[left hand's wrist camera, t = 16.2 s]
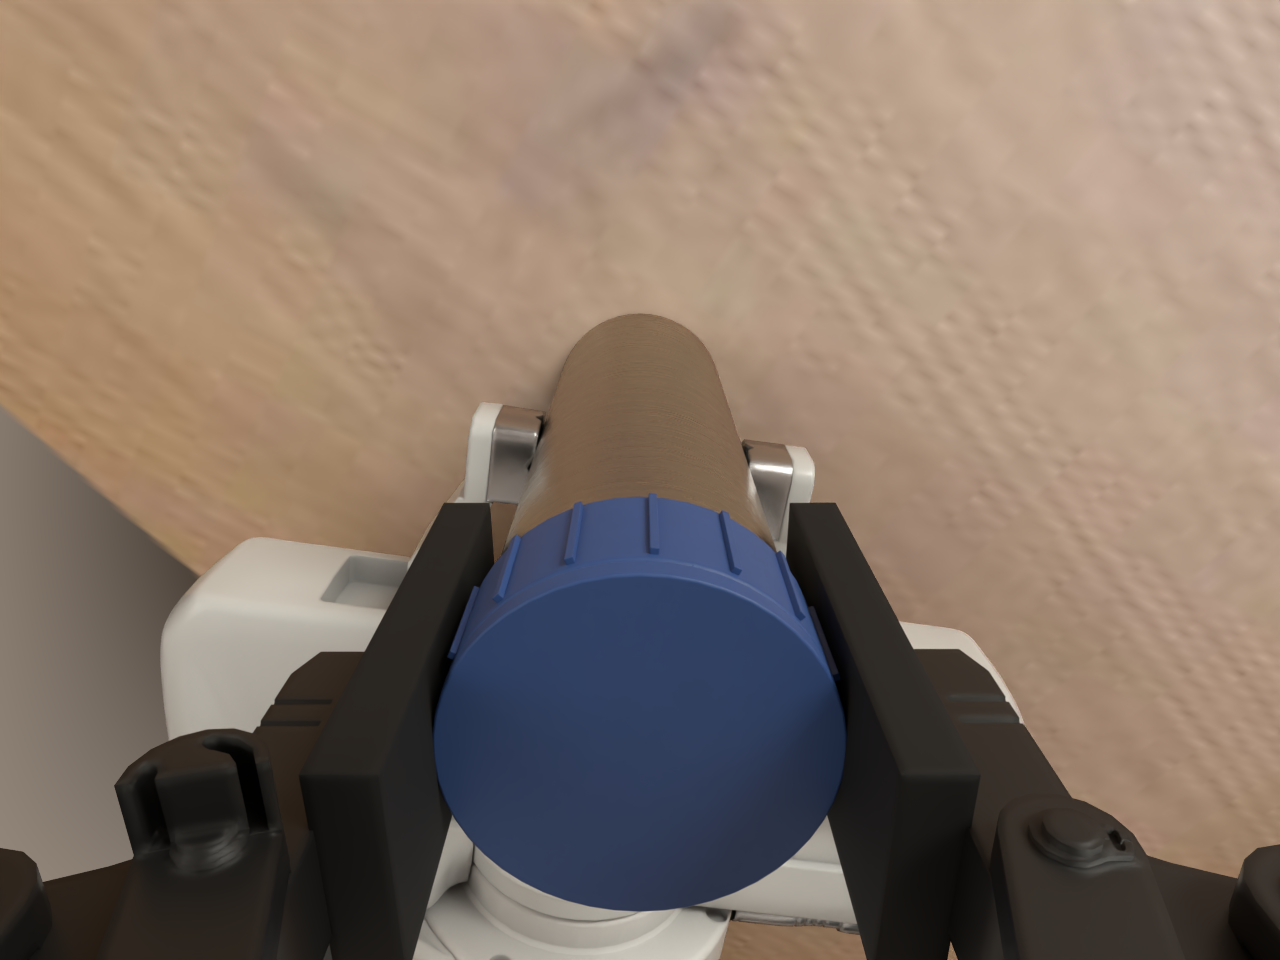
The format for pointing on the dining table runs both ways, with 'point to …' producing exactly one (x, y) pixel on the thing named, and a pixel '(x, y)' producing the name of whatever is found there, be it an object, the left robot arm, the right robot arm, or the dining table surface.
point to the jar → (639, 429)
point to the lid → (639, 708)
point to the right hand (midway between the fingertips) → (643, 431)
